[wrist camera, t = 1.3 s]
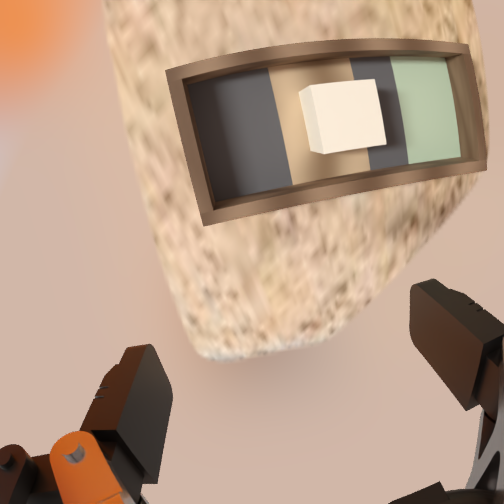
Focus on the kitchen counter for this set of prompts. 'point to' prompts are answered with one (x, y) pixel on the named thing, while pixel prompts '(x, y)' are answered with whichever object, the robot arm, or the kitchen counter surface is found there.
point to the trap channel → (294, 129)
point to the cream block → (342, 116)
